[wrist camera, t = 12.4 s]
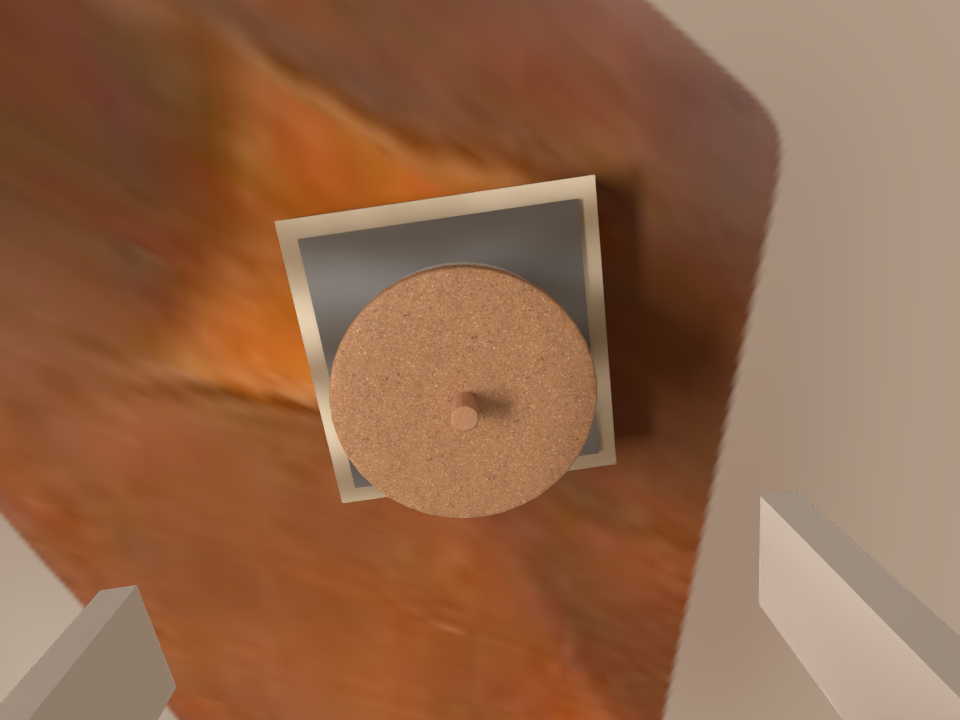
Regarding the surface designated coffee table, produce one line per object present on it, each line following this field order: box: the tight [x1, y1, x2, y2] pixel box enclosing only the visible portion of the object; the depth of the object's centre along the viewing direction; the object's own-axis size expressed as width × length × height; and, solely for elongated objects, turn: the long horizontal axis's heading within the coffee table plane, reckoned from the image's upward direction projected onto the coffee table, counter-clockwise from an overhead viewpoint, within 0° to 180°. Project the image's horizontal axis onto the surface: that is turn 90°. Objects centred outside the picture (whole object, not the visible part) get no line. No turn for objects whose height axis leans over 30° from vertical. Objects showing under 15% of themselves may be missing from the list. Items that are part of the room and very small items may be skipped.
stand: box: [274, 175, 616, 503], centre depth 31 cm, size 16×16×3 cm
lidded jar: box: [329, 262, 597, 518], centre depth 25 cm, size 11×11×9 cm
